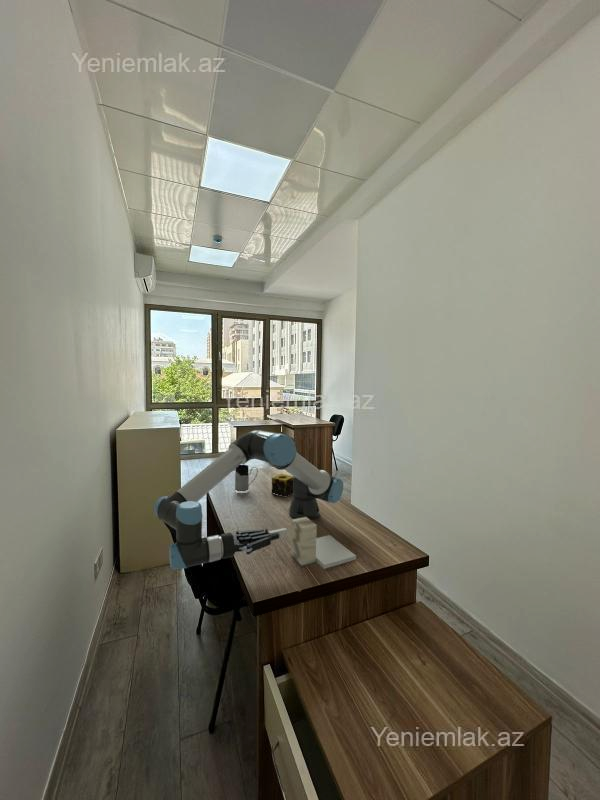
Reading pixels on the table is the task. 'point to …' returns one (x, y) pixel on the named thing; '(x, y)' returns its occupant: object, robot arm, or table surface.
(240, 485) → the glass mug
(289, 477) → the candle
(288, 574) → the table surface
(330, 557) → the pad
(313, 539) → the birch block
